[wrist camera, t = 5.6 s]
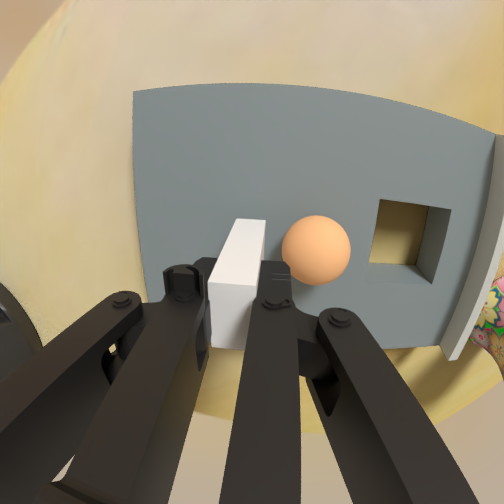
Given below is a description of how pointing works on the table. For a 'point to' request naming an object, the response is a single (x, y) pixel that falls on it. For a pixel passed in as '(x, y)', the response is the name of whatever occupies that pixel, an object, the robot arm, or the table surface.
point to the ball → (316, 250)
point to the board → (325, 195)
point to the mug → (492, 324)
